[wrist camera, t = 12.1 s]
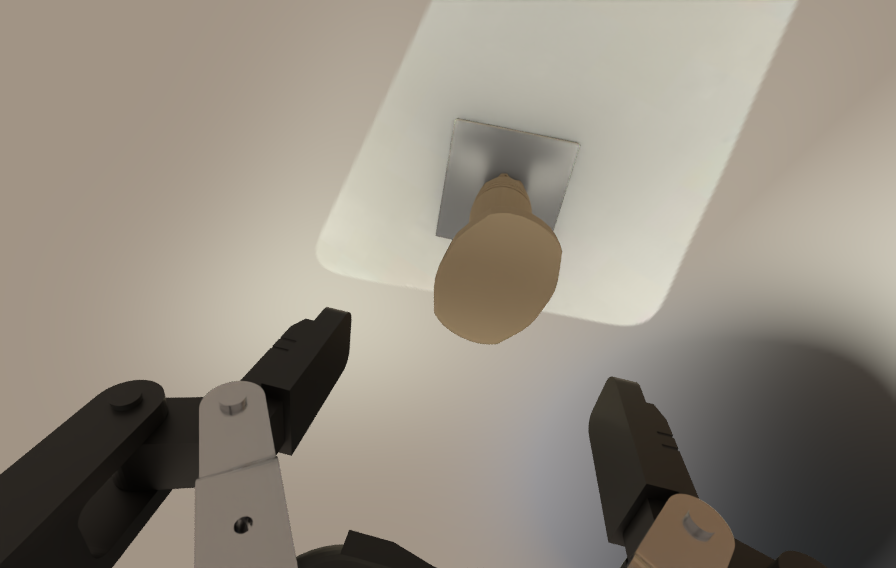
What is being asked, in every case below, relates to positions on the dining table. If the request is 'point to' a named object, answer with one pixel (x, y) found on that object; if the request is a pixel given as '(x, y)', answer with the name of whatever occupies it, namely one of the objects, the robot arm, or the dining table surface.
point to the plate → (503, 170)
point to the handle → (497, 267)
